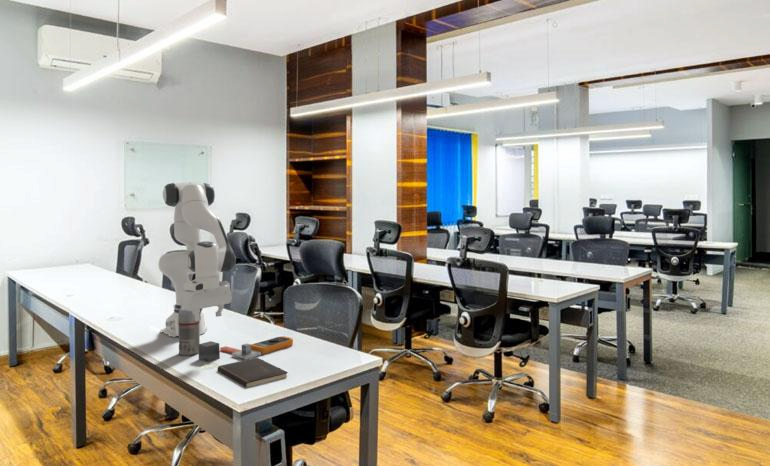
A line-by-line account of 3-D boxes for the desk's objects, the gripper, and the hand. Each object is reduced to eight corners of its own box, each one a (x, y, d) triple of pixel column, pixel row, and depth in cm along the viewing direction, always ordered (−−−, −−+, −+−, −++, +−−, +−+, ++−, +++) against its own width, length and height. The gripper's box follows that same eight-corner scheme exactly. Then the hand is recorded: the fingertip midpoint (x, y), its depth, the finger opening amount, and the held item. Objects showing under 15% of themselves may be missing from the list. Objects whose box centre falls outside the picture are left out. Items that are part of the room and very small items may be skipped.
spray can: (205, 352, 215) (203, 304, 214) (188, 357, 208) (187, 307, 207) (191, 349, 219) (190, 302, 218) (174, 354, 212) (173, 305, 211)
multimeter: (295, 345, 226) (295, 337, 225) (262, 355, 211) (262, 347, 211) (281, 342, 231) (281, 334, 231) (249, 352, 216) (249, 344, 216)
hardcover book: (257, 363, 202) (257, 357, 202) (288, 378, 185) (287, 372, 184) (217, 372, 191) (217, 366, 191) (246, 389, 174) (245, 382, 174)
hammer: (214, 352, 215) (214, 341, 215) (230, 347, 222) (230, 337, 221) (244, 360, 204) (244, 348, 204) (260, 355, 210) (260, 344, 210)
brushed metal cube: (198, 359, 205) (198, 344, 205) (211, 355, 210) (210, 341, 209) (207, 361, 202) (207, 346, 202) (219, 358, 207) (219, 343, 206)
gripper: (224, 279, 214) (225, 312, 215) (179, 286, 198) (180, 322, 198) (234, 280, 211) (235, 314, 211) (189, 287, 194) (190, 324, 195)
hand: (208, 318), depth 205 cm, fingers open, 8 cm apart
